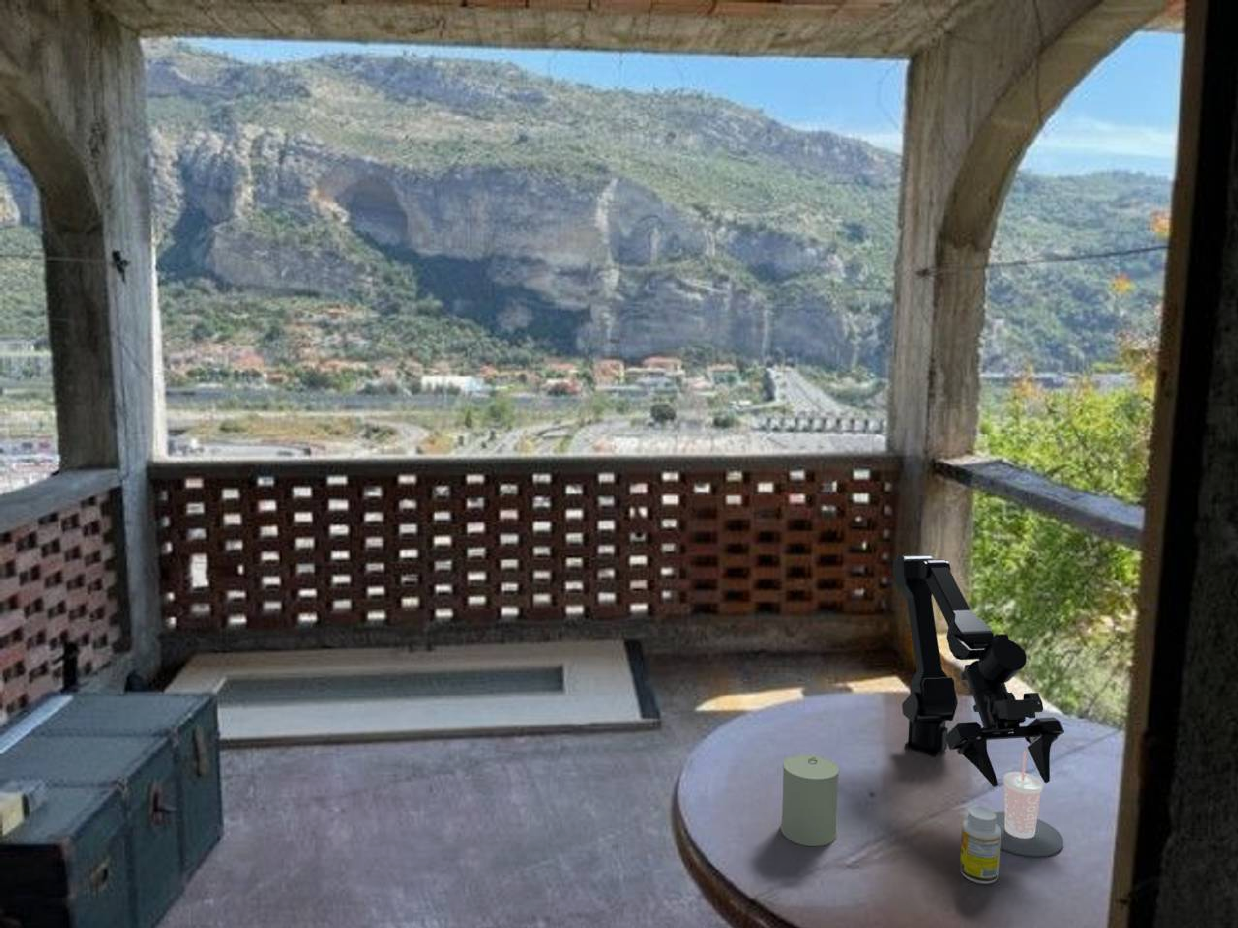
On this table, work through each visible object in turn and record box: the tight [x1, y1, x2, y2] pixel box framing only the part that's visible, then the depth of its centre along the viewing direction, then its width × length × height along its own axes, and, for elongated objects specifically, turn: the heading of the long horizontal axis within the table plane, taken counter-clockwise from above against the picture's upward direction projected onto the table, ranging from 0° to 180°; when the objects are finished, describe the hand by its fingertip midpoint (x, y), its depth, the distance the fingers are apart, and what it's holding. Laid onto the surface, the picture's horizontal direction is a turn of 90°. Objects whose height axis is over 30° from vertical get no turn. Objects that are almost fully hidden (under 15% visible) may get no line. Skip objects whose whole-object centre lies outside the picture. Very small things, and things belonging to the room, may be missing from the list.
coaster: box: [994, 811, 1064, 858], centre depth 153 cm, size 13×13×1 cm
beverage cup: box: [1002, 750, 1044, 839], centre depth 152 cm, size 6×6×14 cm
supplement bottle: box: [959, 806, 1001, 885], centre depth 141 cm, size 6×6×10 cm
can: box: [780, 753, 840, 847], centre depth 153 cm, size 9×9×12 cm
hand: (1021, 784), depth 152 cm, fingers open, 9 cm apart
